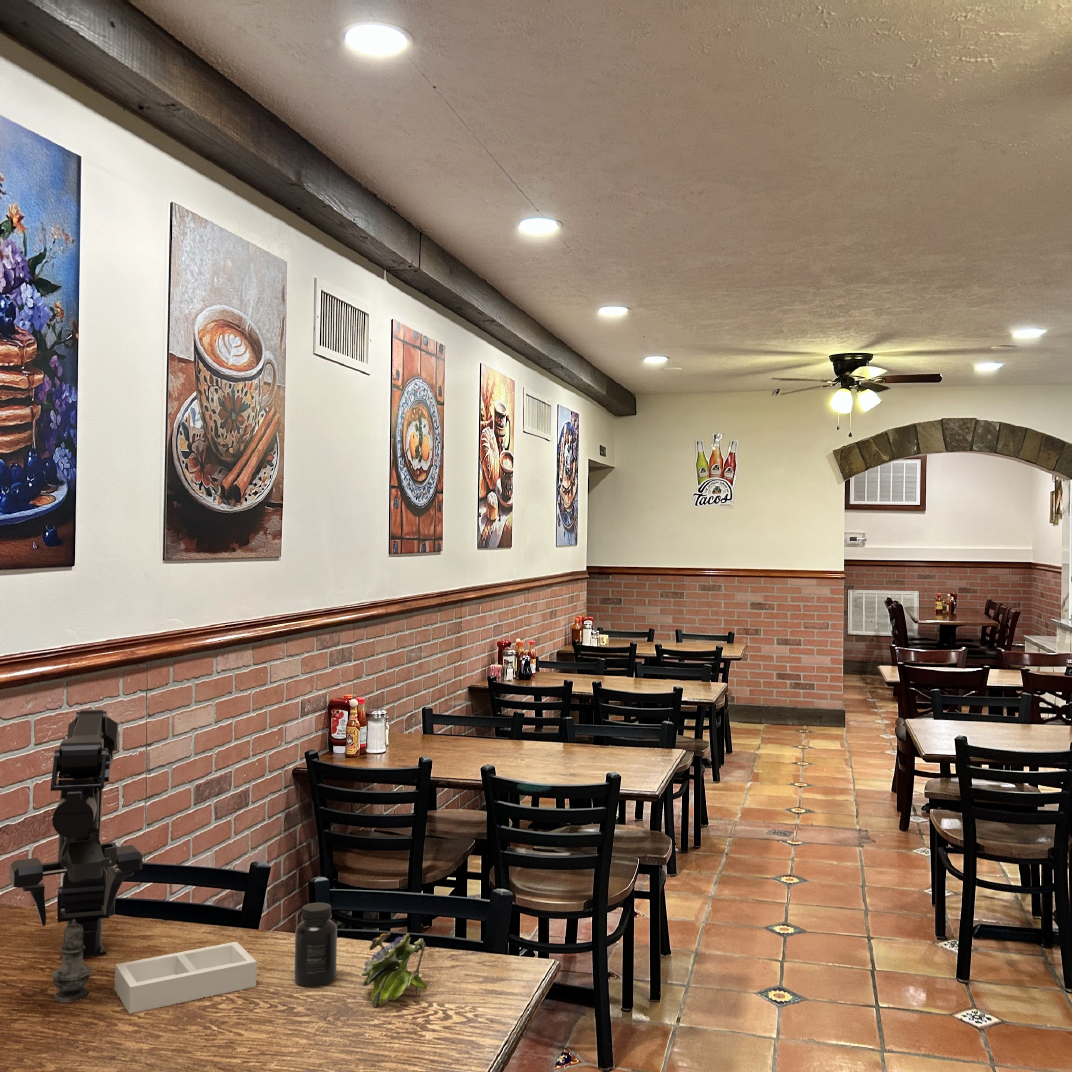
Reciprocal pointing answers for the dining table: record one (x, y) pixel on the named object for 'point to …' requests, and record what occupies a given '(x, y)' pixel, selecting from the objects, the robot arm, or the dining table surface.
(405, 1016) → the dining table surface
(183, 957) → the condiment caddy
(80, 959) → the grey stone turned post
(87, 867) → the robot arm
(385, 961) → the passion flower
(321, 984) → the supplement bottle
